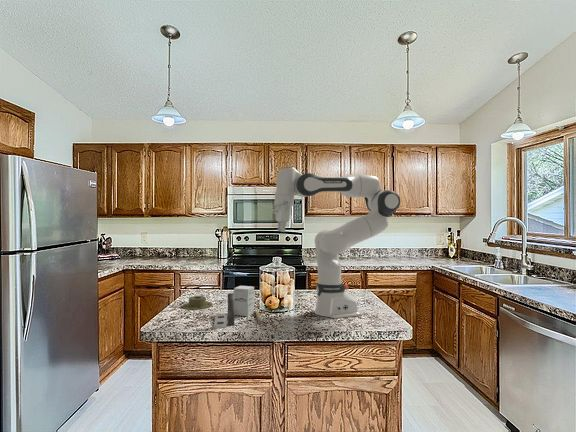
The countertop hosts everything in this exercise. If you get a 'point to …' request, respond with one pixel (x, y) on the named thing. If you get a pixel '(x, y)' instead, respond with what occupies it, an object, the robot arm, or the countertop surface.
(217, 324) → the gauge plate
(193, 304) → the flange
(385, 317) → the countertop surface
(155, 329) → the countertop surface
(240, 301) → the supplement box
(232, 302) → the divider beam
